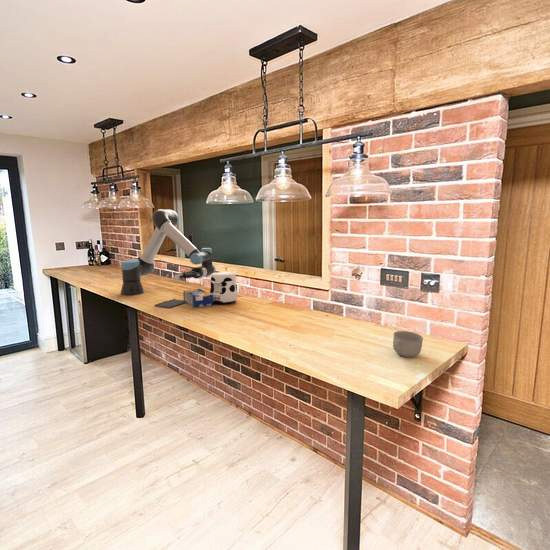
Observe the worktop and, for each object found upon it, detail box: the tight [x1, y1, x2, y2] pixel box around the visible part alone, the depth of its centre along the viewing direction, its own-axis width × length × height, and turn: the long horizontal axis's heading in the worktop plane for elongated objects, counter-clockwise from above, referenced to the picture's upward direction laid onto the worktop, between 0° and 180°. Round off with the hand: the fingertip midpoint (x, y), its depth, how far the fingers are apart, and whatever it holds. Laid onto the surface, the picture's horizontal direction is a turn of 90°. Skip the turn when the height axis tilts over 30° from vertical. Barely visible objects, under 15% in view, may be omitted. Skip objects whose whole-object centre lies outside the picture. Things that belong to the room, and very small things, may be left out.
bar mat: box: [154, 298, 188, 309], centre depth 225 cm, size 12×18×1 cm, turn 154°
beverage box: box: [182, 288, 214, 309], centre depth 226 cm, size 7×11×22 cm
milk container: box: [209, 271, 238, 305], centre depth 228 cm, size 17×17×18 cm
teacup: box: [392, 330, 424, 358], centre depth 140 cm, size 14×11×8 cm
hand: (175, 277), depth 225 cm, fingers closed
